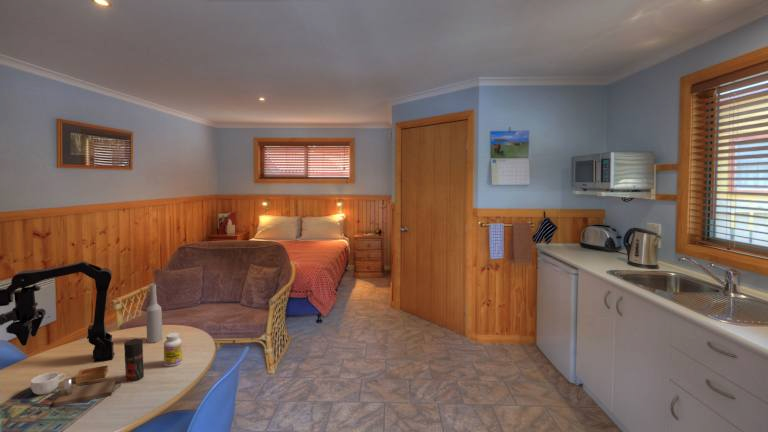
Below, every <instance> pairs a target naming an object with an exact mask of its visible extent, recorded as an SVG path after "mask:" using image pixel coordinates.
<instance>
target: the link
mask: <svg viewBox="0 0 768 432" xmlns="http://www.w3.org/2000/svg"><path fill="white" fill-rule="evenodd" d="M108 368H109V367H108V365H103V366H102V365H100V366H97V367H91V368H84V369H79V371H78V372H77V374H76V376H75V384H81V383H86V382H91V381H96V380H101V379H105V378H106V376H107V374H108V372H109V369H108Z"/></svg>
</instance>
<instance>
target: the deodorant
mask: <svg viewBox="0 0 768 432" xmlns="http://www.w3.org/2000/svg"><path fill="white" fill-rule="evenodd" d="M123 348H124V365H125V366H124V368H125V369H124V370H125V381H126V382H127V383H134V382H138V381H140V380H141V379H143V378H144V377H145V376H144V374H145V373H144V372H145V371H144V346H143V339H142V338H132V339H129V340H127V341H124V347H123Z"/></svg>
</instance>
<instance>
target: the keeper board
mask: <svg viewBox="0 0 768 432" xmlns="http://www.w3.org/2000/svg"><path fill="white" fill-rule="evenodd" d="M116 380H117V379H112V380H107V381H101V382H97V383H92V384H86V385H81V386H75V387H72V394H71V395H69V396H65V388H63V389H61V391H60V392H59V394H58V395H57V397H56V399H55V400H54V402H53V408H56V407H62V406H66V405H71V404H77V403H81V402H86V401H92V400H95V399H101V398H105V397H111V396H112V395H113V392H114V389H115V387H116V383H117V382H116Z"/></svg>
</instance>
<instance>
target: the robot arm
mask: <svg viewBox="0 0 768 432" xmlns="http://www.w3.org/2000/svg"><path fill="white" fill-rule="evenodd" d="M78 273H81V274H84V275H85V276H88V277H89V278H91V279H93V280H94V283H95V289H96V296H95V308H94V316H93V323H92V324H89V325H88V327H87V336H86V340H88V343H89V344H91V345H92V346H94V347H93V349H92V359H93V363H99V362H105V361H110V360H113V358H114V356H115V353H116V352H114V342H113V341H112V339H113V335H112V334H110V333H109V332H108V331H107V326H106V322H105V321H106V320H105V318H106V317H105V316H106V310H107V309H106V306H107V300H108V299H107V297H108V289H109V286H110V284H111V281H112V278H113V277H112V276H113V271H111V269H109V268H102V267H100V266H98V265H95V264H92V263H89V262H88V261H86V260H85V261H84V260H83V261H79V262H75V263H70V264H65V265H61V266H60V265H59V266H56V267H51V268H46V269H28V270H27V269H26V270H21V271H18V272H17V273H16V274H15V275H14V276H13V277H12V278H11V280H10V281H11V282H10V283H11V284H9V285H8V286H7V287H6V288H5V287H4V288H0V307H7V306H10V304H11V303H13V302H14V305H15V306H14V307H13V308H12V310H10V311H8V312H5V313H1V314H0V326H3V325H4V324H6V323H9V322H11V323H9V325H8V326H7V327H5V330H6V332H5V333H7V334H10V335H11V334H13V335H15V336H16V337H17V339H18V341H19V343H20V344H21V346H22V347H23V346H26V345H27V344H28V341H29V338H30V335H31V337H32V338H33V337H36V336H37V333H38V331H39V329H40V327H41V324H42V322H43V320H44V319H45V316H46V314H47V313H46V310H45V309H44V308H37V306H38V304H39V302H36V294H35V292H39V291H40V290H41V289H42V287H41V286H39V285H37V283H40V282H43V281H46V280H52V279H54V278H59V277H63V276H67V275H73V274H78Z"/></svg>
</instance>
